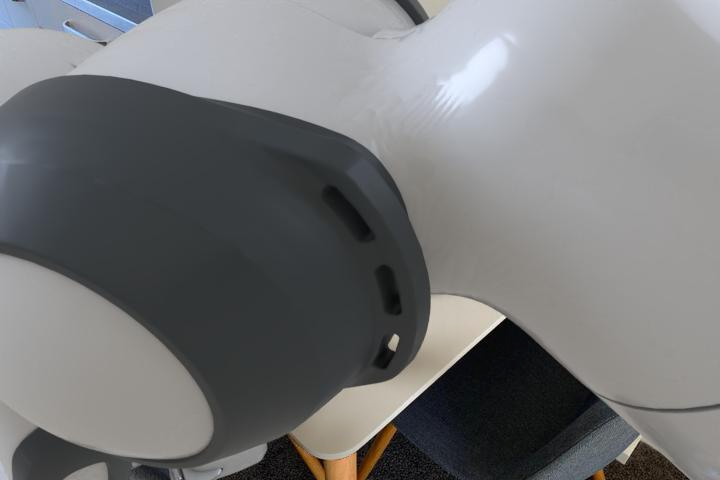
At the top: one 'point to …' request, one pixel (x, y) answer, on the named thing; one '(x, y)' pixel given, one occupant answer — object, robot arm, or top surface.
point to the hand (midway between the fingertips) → (271, 358)
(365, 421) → the top surface
